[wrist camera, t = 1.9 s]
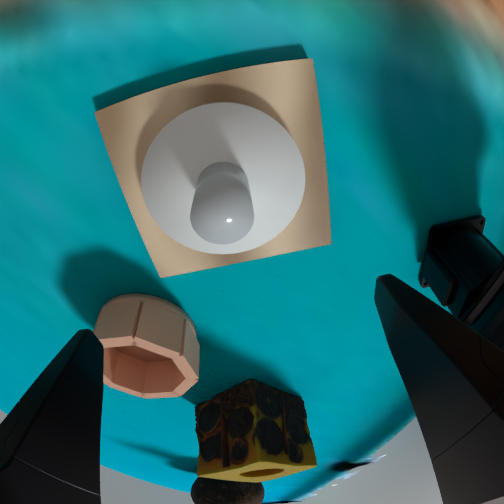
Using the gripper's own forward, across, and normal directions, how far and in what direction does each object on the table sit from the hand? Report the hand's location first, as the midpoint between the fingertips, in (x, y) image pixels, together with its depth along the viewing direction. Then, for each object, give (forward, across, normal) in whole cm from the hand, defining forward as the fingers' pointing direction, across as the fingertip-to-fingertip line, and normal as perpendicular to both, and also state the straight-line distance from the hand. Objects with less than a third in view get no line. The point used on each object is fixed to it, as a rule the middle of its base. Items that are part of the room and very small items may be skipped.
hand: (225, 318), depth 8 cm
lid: (+10, 0, 0) cm, 10 cm away
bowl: (+11, +10, +12) cm, 19 cm away
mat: (+11, 0, 0) cm, 11 cm away
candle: (+11, +4, +29) cm, 31 cm away
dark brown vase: (+11, +18, +70) cm, 73 cm away
